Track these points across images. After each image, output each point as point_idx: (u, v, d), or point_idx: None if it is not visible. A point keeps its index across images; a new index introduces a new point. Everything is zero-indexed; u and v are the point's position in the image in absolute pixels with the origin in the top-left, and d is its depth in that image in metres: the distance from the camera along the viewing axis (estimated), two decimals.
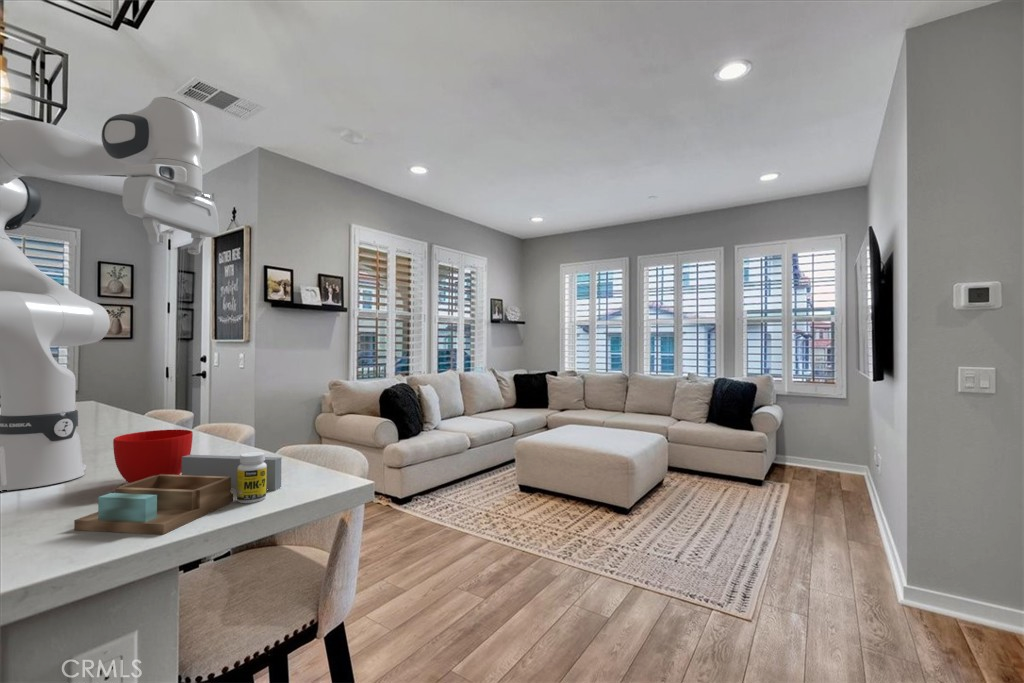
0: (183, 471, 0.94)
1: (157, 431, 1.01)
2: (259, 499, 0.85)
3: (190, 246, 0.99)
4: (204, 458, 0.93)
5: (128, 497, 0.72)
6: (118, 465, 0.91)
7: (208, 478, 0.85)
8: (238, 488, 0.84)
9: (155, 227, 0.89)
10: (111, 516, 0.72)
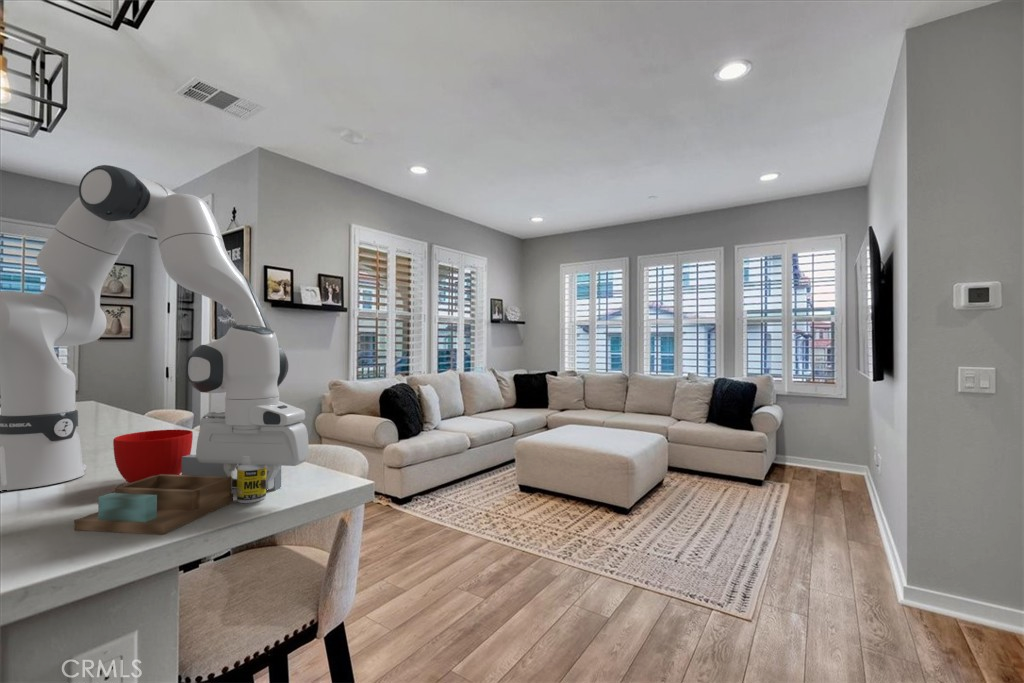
0: (183, 471, 0.94)
1: (157, 431, 1.01)
2: (259, 499, 0.85)
3: None
4: None
5: (128, 497, 0.72)
6: (118, 465, 0.91)
7: (208, 478, 0.85)
8: (238, 488, 0.84)
9: None
10: (111, 516, 0.72)
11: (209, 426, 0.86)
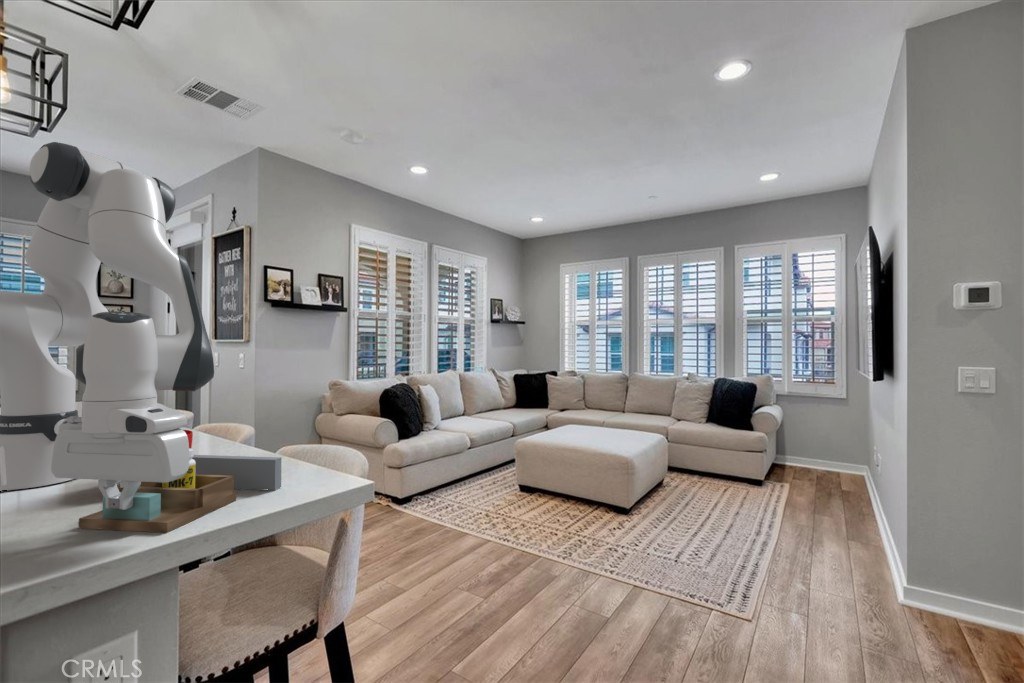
0: None
1: None
2: None
3: None
4: (204, 458, 0.93)
5: None
6: None
7: (211, 477, 0.85)
8: (163, 486, 0.80)
9: None
10: (115, 514, 0.72)
11: (66, 434, 0.71)
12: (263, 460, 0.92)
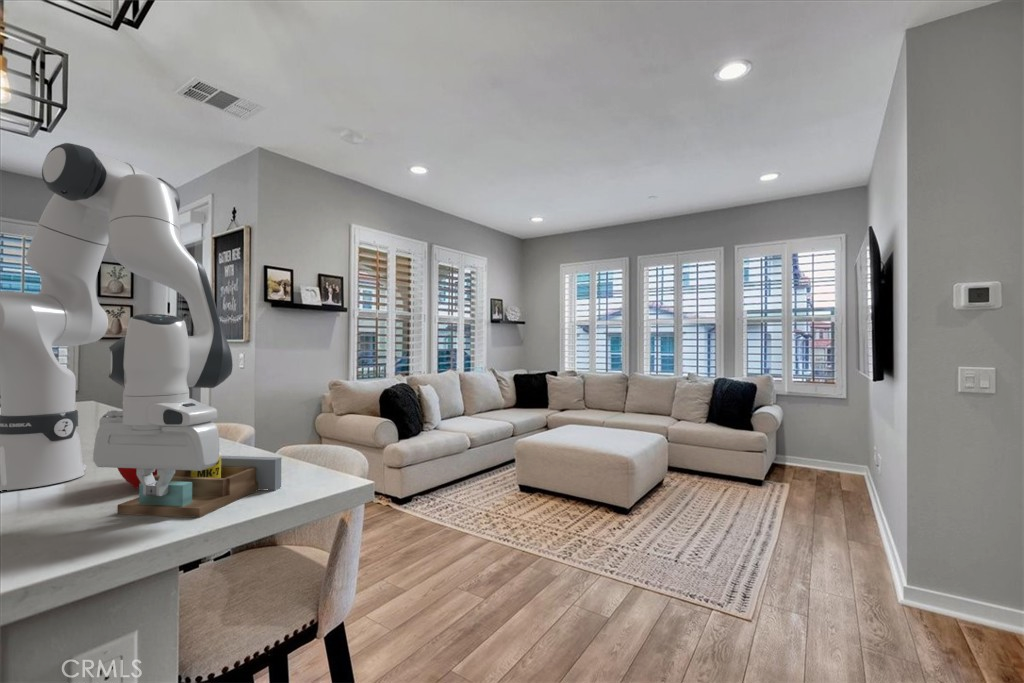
0: None
1: None
2: None
3: None
4: None
5: None
6: None
7: (235, 468, 0.92)
8: (192, 476, 0.87)
9: None
10: (151, 501, 0.79)
11: (107, 426, 0.77)
12: (263, 460, 0.92)
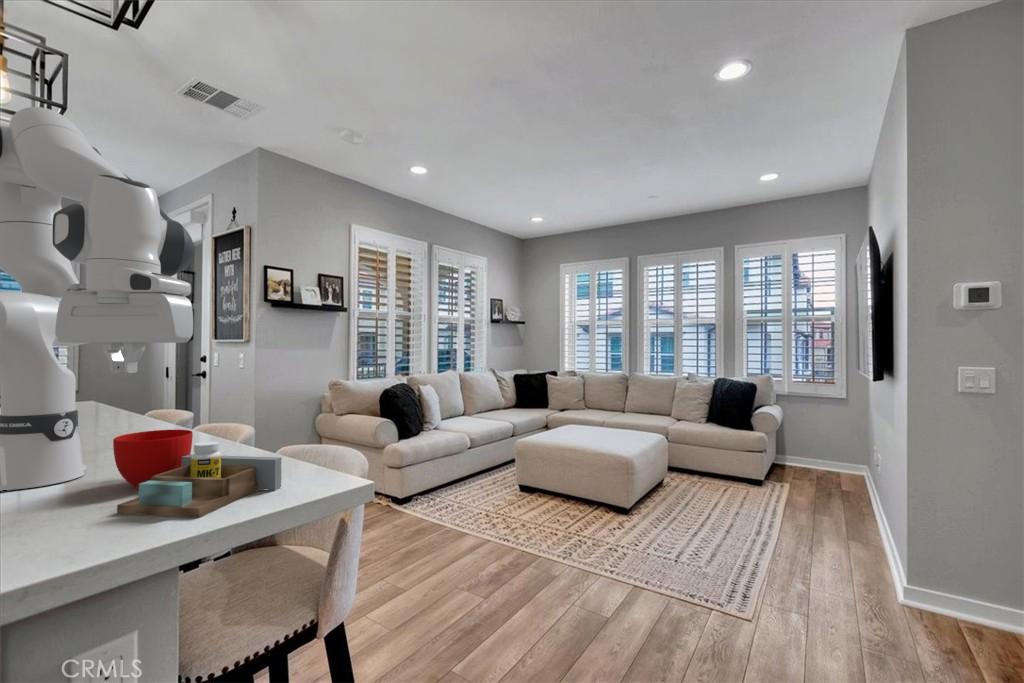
0: None
1: (157, 431, 1.01)
2: None
3: None
4: None
5: (166, 484, 0.79)
6: (118, 465, 0.91)
7: (235, 468, 0.92)
8: (191, 476, 0.86)
9: None
10: (151, 501, 0.79)
11: (71, 297, 0.71)
12: (263, 460, 0.92)
